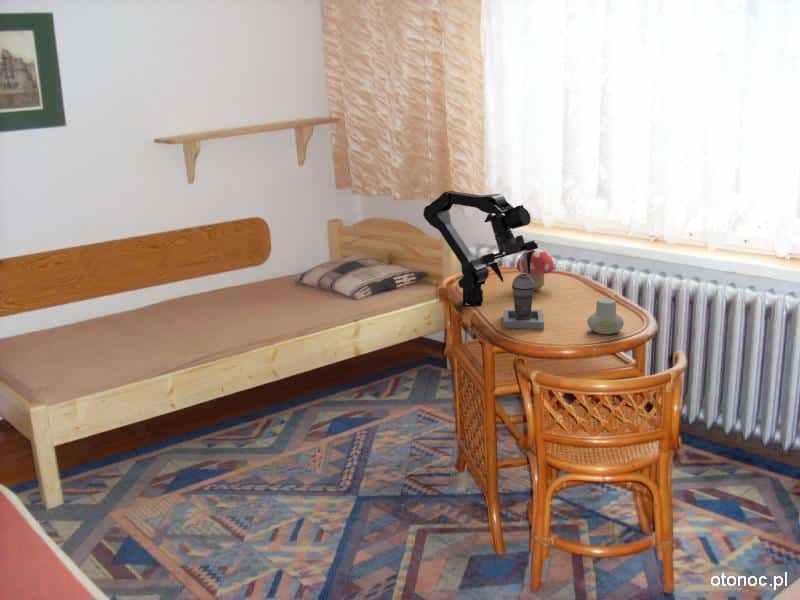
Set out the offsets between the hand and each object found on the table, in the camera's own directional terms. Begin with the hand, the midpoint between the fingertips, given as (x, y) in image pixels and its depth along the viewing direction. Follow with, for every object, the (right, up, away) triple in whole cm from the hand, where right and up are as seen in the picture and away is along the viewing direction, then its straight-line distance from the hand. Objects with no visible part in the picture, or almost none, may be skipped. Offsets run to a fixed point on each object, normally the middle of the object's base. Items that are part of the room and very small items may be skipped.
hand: (515, 277), depth 289 cm
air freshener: (+25, -17, -17) cm, 35 cm away
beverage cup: (+1, -14, -7) cm, 16 cm away
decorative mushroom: (+11, -4, +28) cm, 30 cm away
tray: (+1, -15, -7) cm, 16 cm away
